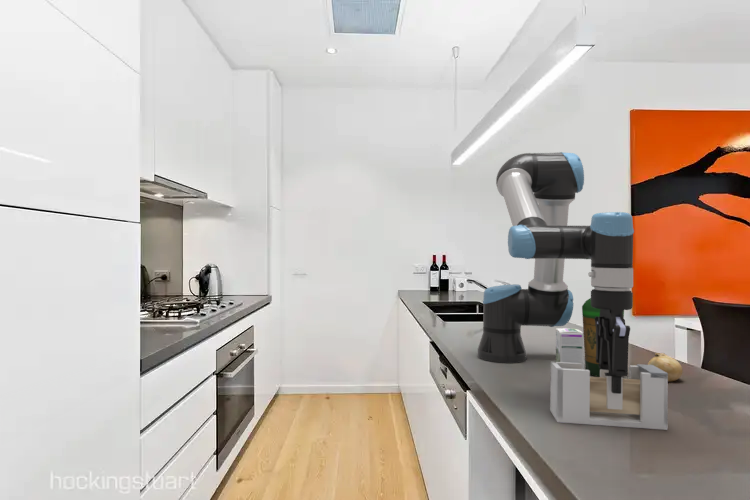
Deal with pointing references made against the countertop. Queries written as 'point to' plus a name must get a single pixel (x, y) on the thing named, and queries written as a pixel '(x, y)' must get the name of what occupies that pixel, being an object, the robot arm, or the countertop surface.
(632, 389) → the tan wooden block
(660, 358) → the tan round lump
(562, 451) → the countertop surface
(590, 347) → the bottle
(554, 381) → the white open holder
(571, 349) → the syrup box
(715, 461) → the countertop surface
